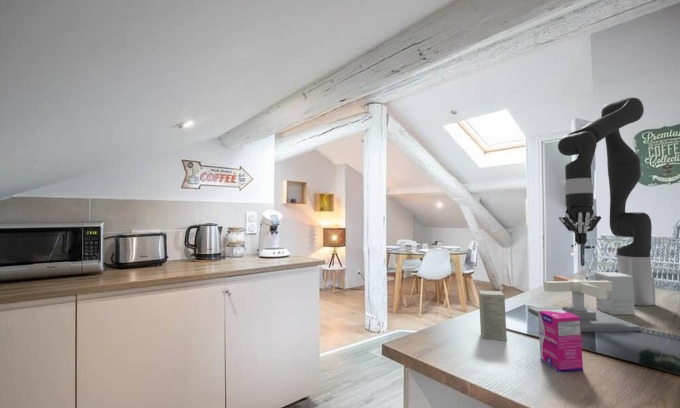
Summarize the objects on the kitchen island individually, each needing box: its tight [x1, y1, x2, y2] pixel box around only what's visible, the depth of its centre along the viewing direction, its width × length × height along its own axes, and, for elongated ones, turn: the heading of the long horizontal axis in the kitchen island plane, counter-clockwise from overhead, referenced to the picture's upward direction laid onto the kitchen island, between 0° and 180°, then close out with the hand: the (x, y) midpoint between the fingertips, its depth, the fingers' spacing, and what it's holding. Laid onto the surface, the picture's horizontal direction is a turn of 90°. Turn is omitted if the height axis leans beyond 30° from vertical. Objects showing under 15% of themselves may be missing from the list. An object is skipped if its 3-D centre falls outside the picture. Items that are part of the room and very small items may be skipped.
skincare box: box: [478, 289, 508, 341], centre depth 88 cm, size 6×4×12 cm
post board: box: [527, 291, 642, 333], centre depth 101 cm, size 20×20×9 cm
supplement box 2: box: [594, 271, 636, 316], centre depth 109 cm, size 7×7×13 cm
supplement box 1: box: [538, 309, 584, 373], centre depth 71 cm, size 6×6×12 cm
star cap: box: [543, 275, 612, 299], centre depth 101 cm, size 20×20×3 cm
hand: (580, 244), depth 108 cm, fingers closed
